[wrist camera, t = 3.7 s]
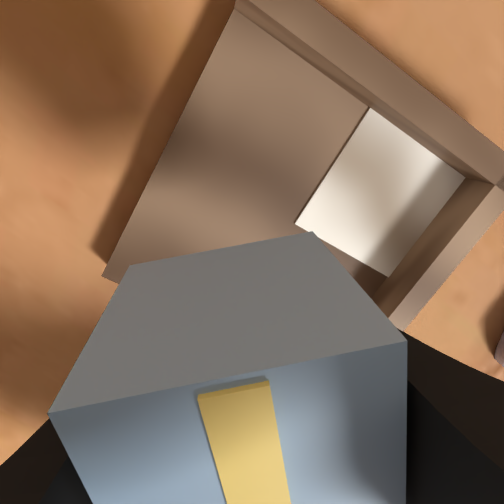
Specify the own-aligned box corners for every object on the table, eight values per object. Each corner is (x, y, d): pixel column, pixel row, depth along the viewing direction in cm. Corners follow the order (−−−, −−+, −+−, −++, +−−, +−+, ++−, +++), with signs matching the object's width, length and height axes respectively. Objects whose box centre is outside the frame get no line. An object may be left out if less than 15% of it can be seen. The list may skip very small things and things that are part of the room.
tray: (325, 363, 22) (343, 403, 19) (108, 266, 18) (87, 296, 15) (480, 164, 18) (533, 174, 15) (247, -13, 14) (256, -47, 11)
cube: (326, 374, 11) (407, 559, 7) (174, 405, 11) (146, 618, 6) (312, 231, 10) (411, 344, 5) (129, 265, 9) (43, 419, 5)
